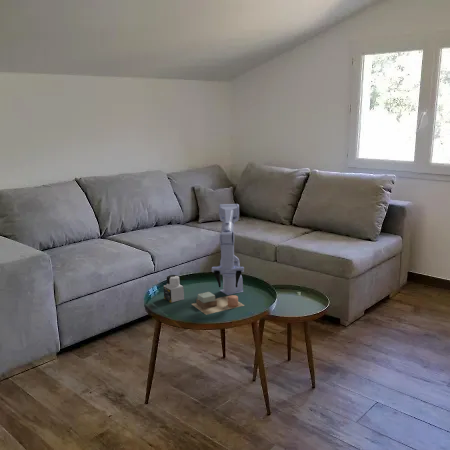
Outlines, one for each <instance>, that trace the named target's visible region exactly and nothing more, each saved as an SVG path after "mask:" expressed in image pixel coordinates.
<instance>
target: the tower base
mask: <svg viewBox="0 0 450 450" xmlns="http://www.w3.org/2000/svg"><path fill="white" fill-rule="evenodd" d="M195 300H196V302H195V303H197V305H198V306H200V307H201V308H203V309H206V308H210V307H214V306H217V301H216V300H215V301H211V302H207V303H203V302H201V301H200V300H198V298H196V299H195Z"/></svg>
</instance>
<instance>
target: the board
mask: <svg viewBox="0 0 450 450" xmlns="http://www.w3.org/2000/svg"><path fill="white" fill-rule="evenodd" d="M228 296H229V295H226V296H221V297H217V298H216V297H215V300H216V301H217V306H214V307H210V308H206V309H203V308H201V307H200V306H198V305H197V303H196V302H194V303H191V305H192V306H193V307H195V309H198V310H199V311H200V312H201V313H203V314H204V315H206V316H207V315H210V314H211V315H212V314H215V313H219V312H223V311H228V310H232V309H236V308H241V307H244V306H245V304H243V303H242V302H240V301H238V306H237V307H229V306H228Z"/></svg>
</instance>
